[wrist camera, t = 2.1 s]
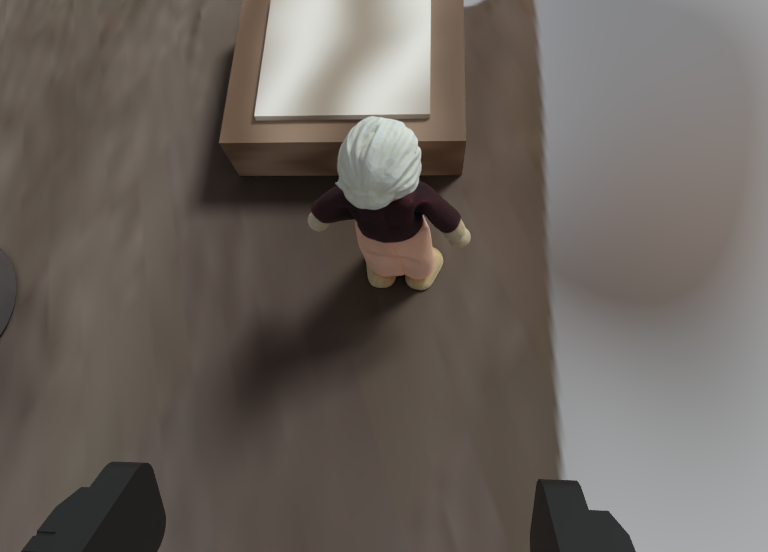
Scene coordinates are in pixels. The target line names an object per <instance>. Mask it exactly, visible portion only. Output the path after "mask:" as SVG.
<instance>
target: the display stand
mask: <svg viewBox="0 0 768 552" xmlns="http://www.w3.org/2000/svg"><path fill="white" fill-rule="evenodd" d="M371 116H374V117H382V118H388V119H393V120H397V121H401V122H403V123H404V124H405V126H406V127H407V128H409V129H411V130H412V131H413V132H414V135H415V136H416V137H417V139H418V147H419V148H420V149H421V165H422V167H421V173H420V175H462V169H463V161H464V154H465V147H466V103H465V55H464V8H463V0H243V2H242V8H241V14H240V20H239V26H238V32H237V38H236V44H235V50H234V56H233V61H232V67H231V73H230V79H229V85H228V91H227V97H226V103H225V109H224V115H223V121H222V127H221V133H220V139H219V144H220V146H221V147H222V149H223V151H224V152H225V154H226V155H227V157H228V159H229V160H230V162H231V163H232V165H233V167H234V168H235V170H236V171H237V173H238V175H239V176H339V174H338V171H337V163H338V154H339V150H340V147H341V145H342V143H343V141H344V140H345V138H346V137H347V135H348V134H349V132H350V130H351V129H352V128H353V127H354V126H356V125H357V123H359V122H360V121H362V120H363V119H365V118H367V117H371Z"/></svg>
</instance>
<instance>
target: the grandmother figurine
mask: <svg viewBox="0 0 768 552" xmlns="http://www.w3.org/2000/svg"><path fill="white" fill-rule="evenodd" d="M421 167H422V165H421V149H420V148H419V147H418V139H417V137H416V136H415V135H414V132H413V131H412V130H411V129H409V128H407V127H406V126H405V124H404V123H403V122H401V121H397V120H393V119H388V118H382V117H374V116H371V117H367V118H365V119H363V120H362V121H360V122H359V123H357V125H356V126H354V127H353V128H352V129H351V130H350V132H349V134H348V135H347V137H346V138H345V140H344V141H343V143H342V145H341V147H340V150H339V154H338V163H337V171H338V174H339V180H338V182H335V184H336V185H337V186H335V187H334V188H332V189H330V190H329V191H327V192H326V193H325V194H323V195H322V196H321V197H320V198H318V199H317V200H316V201H315V202H314V203H313V205H312V207H311V213H310V215H309V217H308V224H309V226H310V228H312V229H313V230H315V231H323V230H325V229H326V228H327V227H328V225H329V224H330V223H332V222H337V221H341V220H352V219H355V227H356V234H357V239H358V244H359V247H360V250H361V252H362V254H363V256H364V258H365V261H366V266H367V275H368V280H369V282H370V284H371V285H372V286H374V287H377V288H386V287H389V286H391V285H392V284H393V283H394V281H395V279H396V276H402V275H405V280H406V283H407V284H408V285H409V286H410V287H411V288H413V289H416V290H425V289H427V288H429V287H430V286H431V284H432V283H433V281H434V280H435V278H436V276H437V274H438V273H439V271H440V269H441V267H442V265H443V257H442V255H441V253H440V252H439V251H438V250H437V249H436V248H434V247H432V240H431V234H430V229H429V226H428V224H427V222H426V220H425V218H424V216H423V214H424V215H425V216H426V217H427V218H428V219H429V220H430V222H431V223H432V224H433V225H434V226H435V227H436V228H437V229H439V230H440V231H441V232H443V234H444V235H445V236H446V238H448V239H449V242H450V243H451V245H453V246H454V247H456V248H463V247H465V246H467V245H468V243H469V242H470V239H471V236H470V233H469V231H468V230H467V229H466V228H465V225H464V223H463V222H462V220H461V216H460V214H459V213H458V211H457V210H456V209H455V208H453V207H452V206H451V205H450V204H449V203H448V202H447V201H445V200H444V199H443V198H442V197H441V196H440V195H439V194H438V193H437V192H436V191H435V190H434V189H433V188H432V187H430V186H429V185H428V184H426V183H424V182H422V181H419V176H420V173H421Z"/></svg>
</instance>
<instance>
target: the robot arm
mask: <svg viewBox="0 0 768 552" xmlns="http://www.w3.org/2000/svg"><path fill="white" fill-rule="evenodd" d="M15 298H16V277H15V273H14V270H13V266H12V264H11V263H10V261H9V259H8V258H7V256H6V254H5V253H3V252H2V251H1V250H0V335H1V333H2V332H3V330H4V329H5V327H6V325H7V324H8V321H9V318H10V316H11V313H12V311H13V308H14V303H15ZM165 526H166V515H165V510H164V507H163V503H162V499H161V496H160V492H159V489H158V485H157V482H156V478H155V474H154V471H153V468H152V466H151V465H150V464H149V463H135V462H111V463H109V464H108V465H106V466H105V467H104V469H103V470H102V471H101V473H100V474H99V475H98V477H97V478H96V479H95V481H94V482H93V483H92V485H91V486H90V487H81V488H80V489H78V490H77V491H76V492H75V493H73V494H72V495H71V496H69V497H68V498H67V499H66V500H64V501H63V502H62V503H60V504H59V505H58V506H57V507H56V508H55V509H54V510H53V511H52V513H51V514H50V515H49V516H48V518H47V519H46V520H45V522H44V523H43V524H42V525H41V527H40V528H39V529H38V530H37V535H36V536H33V537H32V538H31V539H30V541H29V542H28V543H27V544H26V546H25V547H24V548H23V550H22V551H21V552H157V551H158V549H159V547H160V545H161V542H162V539H163V536H164V532H165ZM530 551H531V552H636V551H635V549H634V547H633V544H632V541H631V539H630V536H629V535H628V533H627V532H626V531H625V530H624V529H623V528H622V526H621V525H620V524H619V523H618V522H617V521H616V520H615V518H614V517H613V516H612V515H611V514H610V513H609V511H595V510H589V509H588V506H587V504H586V501H585V498H584V495H583V492H582V489H581V486H580V485H579V483H578V482H577V481H571V480H545V479H539V480H538V481H537V485H536V492H535V500H534V507H533V515H532V523H531V531H530Z"/></svg>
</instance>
